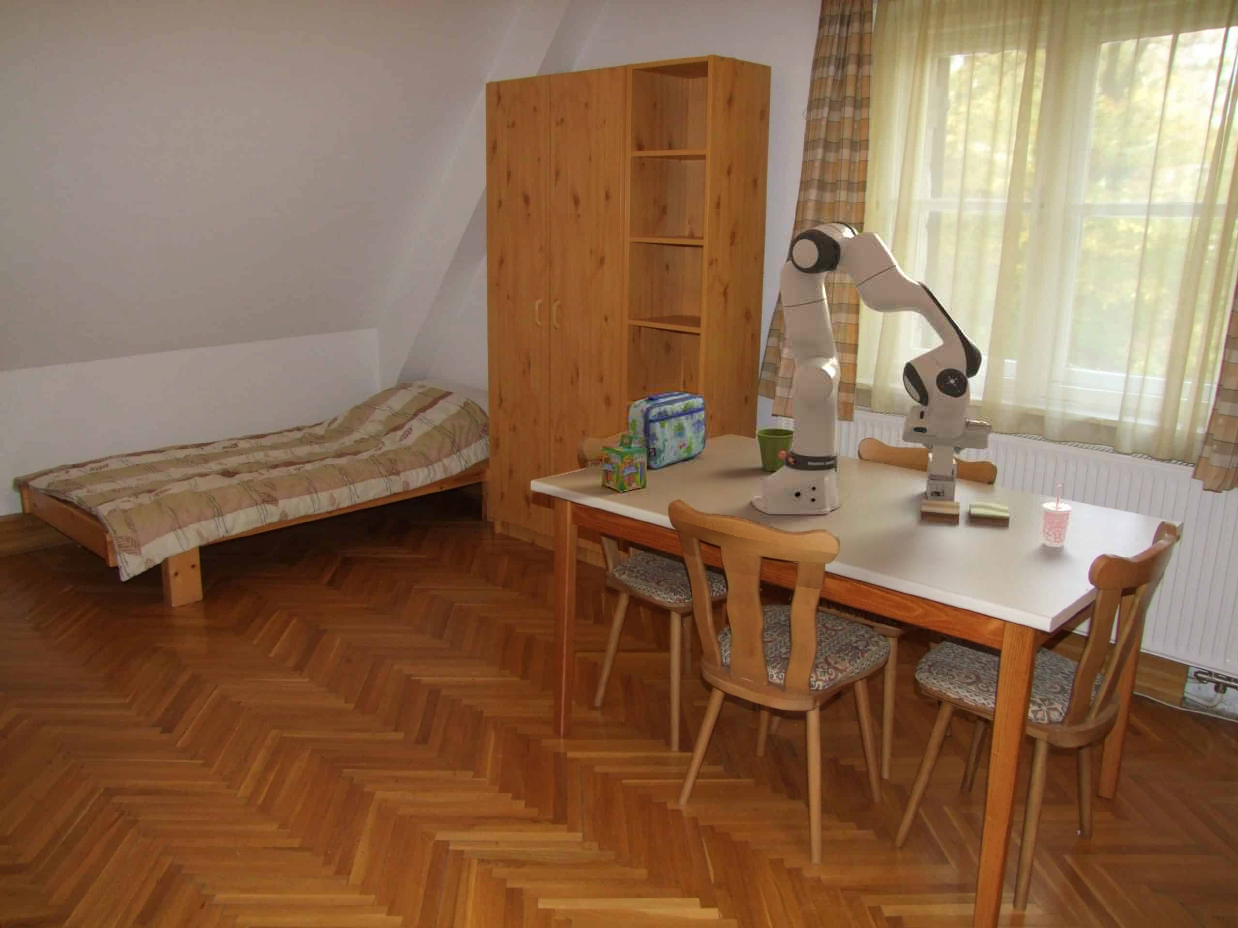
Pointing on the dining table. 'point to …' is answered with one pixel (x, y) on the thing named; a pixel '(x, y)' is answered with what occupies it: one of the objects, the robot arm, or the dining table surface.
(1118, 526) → the dining table surface
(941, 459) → the housing
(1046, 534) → the beverage cup
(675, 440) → the lunch box
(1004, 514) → the stand
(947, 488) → the light bulb box
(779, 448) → the plant pot
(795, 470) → the robot arm
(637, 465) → the chalk box
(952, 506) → the stand
